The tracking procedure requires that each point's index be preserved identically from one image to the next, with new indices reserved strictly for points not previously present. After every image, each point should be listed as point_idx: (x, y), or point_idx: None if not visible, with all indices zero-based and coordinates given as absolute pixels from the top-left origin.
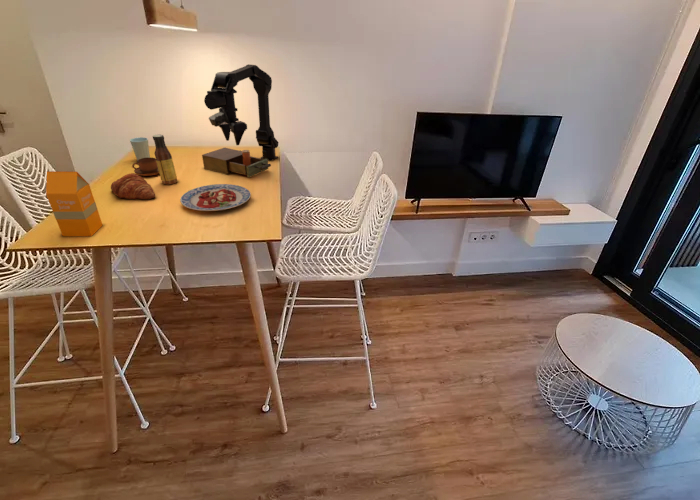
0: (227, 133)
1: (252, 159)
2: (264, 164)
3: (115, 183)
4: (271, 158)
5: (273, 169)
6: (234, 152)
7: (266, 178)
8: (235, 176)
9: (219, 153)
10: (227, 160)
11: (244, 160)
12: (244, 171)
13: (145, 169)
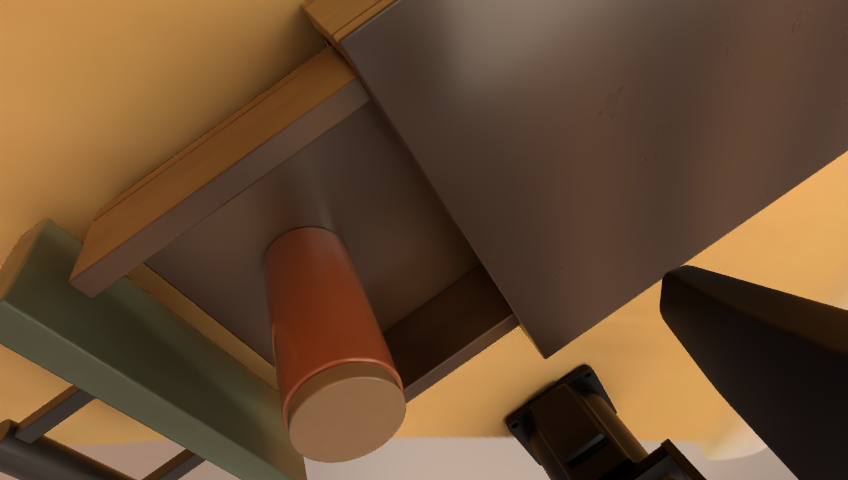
0: (832, 442)
1: (414, 359)
2: (174, 462)
3: None
4: (528, 433)
5: None
6: (626, 228)
7: (33, 380)
8: (193, 83)
9: (709, 29)
10: (356, 71)
11: (287, 303)
12: (104, 222)
13: None
